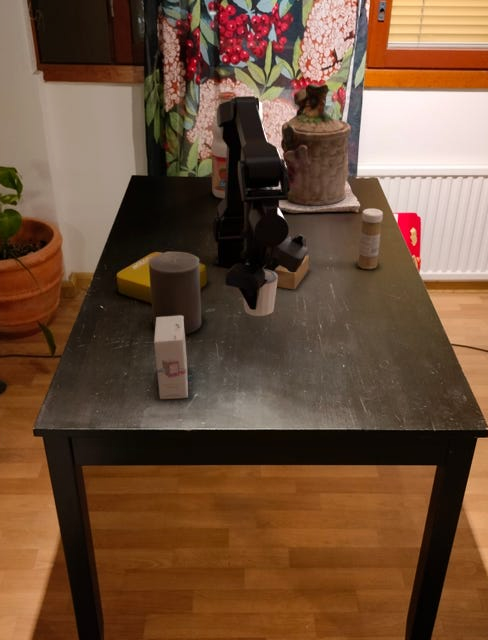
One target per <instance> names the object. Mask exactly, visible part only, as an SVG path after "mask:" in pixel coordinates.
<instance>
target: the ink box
mask: <svg viewBox="0 0 488 640" xmlns="http://www.w3.org/2000/svg"><path fill="white" fill-rule="evenodd" d="M153 338H154V340H153V346H154V355H155V364H156V374H157V382H158V383H157V384H158V393H159V394H158V395H159V400H175V399H186V398H189V389H188V388H189V383H188V381H189V380H188V379H189V377H188V373H189V372H188V359H187V346H186V345H187V343H186V334H185V331H184V317H183V316H182V315H179V316H164V317H156V326H155V328H154V337H153Z"/></svg>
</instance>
